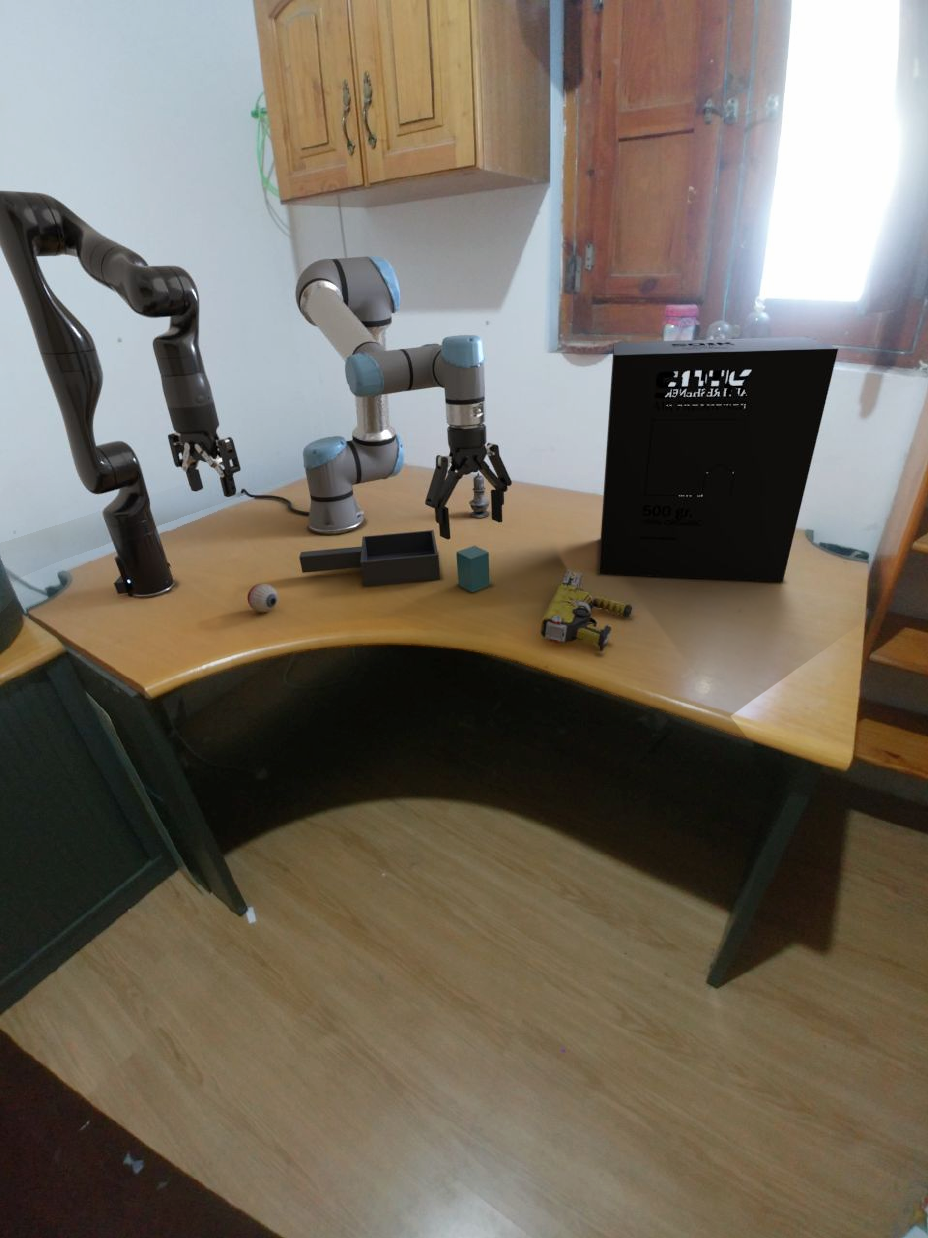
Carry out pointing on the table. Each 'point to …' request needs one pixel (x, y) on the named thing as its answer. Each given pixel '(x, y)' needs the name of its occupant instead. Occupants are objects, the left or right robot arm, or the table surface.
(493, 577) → the table surface
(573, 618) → the toy gun
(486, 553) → the block
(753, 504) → the cardboard box
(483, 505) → the stone chess piece
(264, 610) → the eyeball
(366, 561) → the tray
